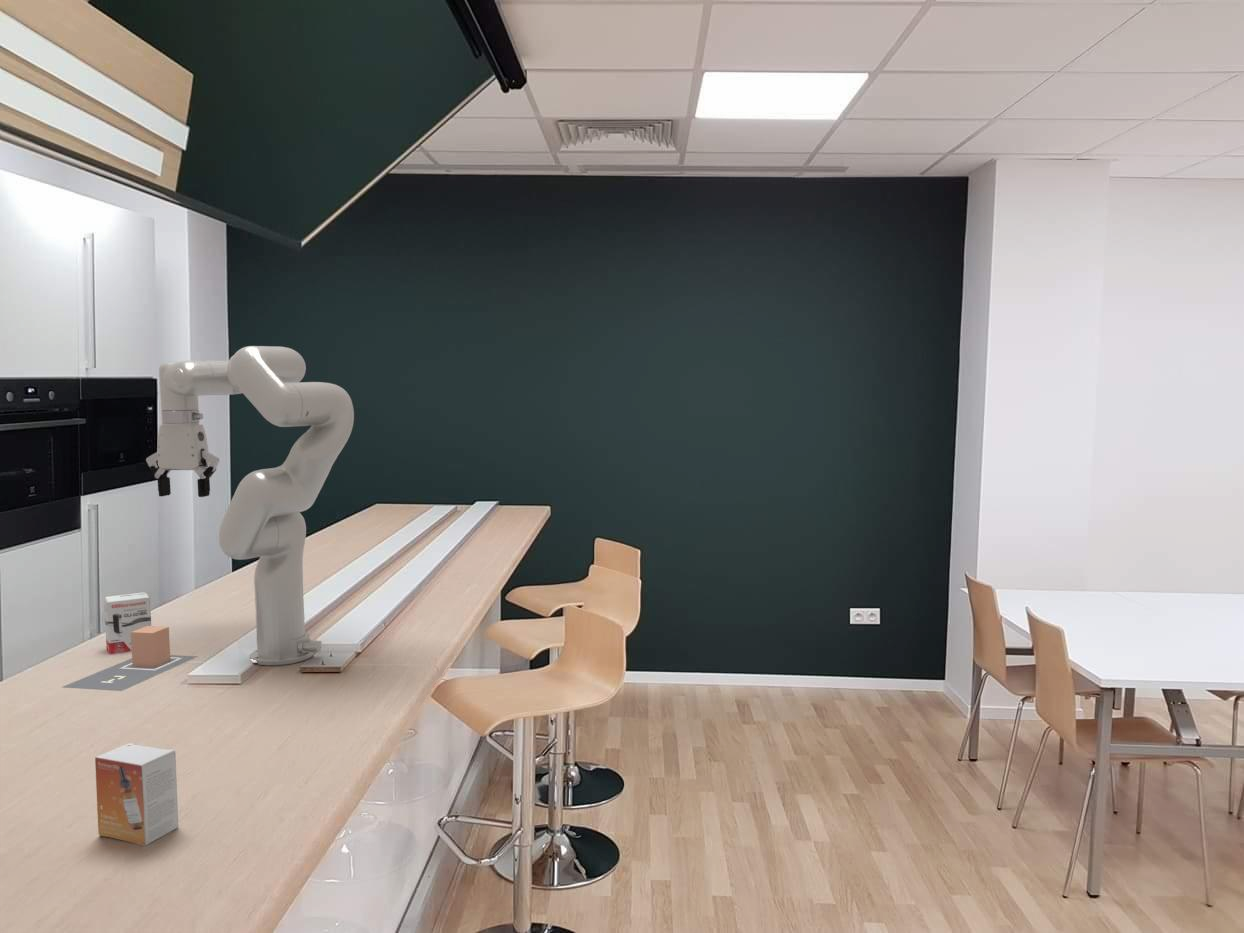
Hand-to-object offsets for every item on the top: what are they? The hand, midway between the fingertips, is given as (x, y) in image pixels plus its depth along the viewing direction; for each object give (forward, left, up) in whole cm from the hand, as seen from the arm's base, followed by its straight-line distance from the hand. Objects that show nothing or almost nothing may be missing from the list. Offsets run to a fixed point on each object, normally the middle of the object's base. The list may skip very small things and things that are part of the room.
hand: (184, 496), depth 218 cm
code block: (-4, +19, -32) cm, 37 cm away
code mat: (-4, +24, -32) cm, 41 cm away
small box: (-52, +86, -33) cm, 106 cm away
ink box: (+8, +10, -33) cm, 35 cm away
